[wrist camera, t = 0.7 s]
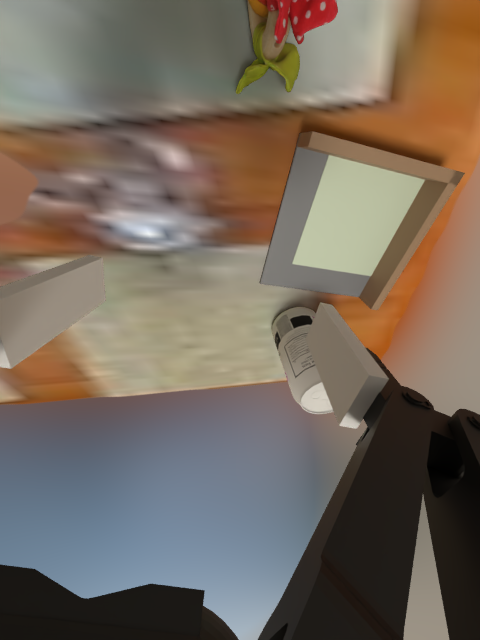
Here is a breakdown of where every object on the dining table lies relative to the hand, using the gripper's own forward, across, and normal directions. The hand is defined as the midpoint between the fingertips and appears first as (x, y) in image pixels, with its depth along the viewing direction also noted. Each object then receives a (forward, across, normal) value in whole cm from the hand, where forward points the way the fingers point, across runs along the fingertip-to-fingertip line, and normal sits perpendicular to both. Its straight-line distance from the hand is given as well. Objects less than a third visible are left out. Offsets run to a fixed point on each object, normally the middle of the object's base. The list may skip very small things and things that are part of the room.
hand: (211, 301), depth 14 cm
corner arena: (+21, +14, +4) cm, 26 cm away
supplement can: (+23, +13, -12) cm, 29 cm away
